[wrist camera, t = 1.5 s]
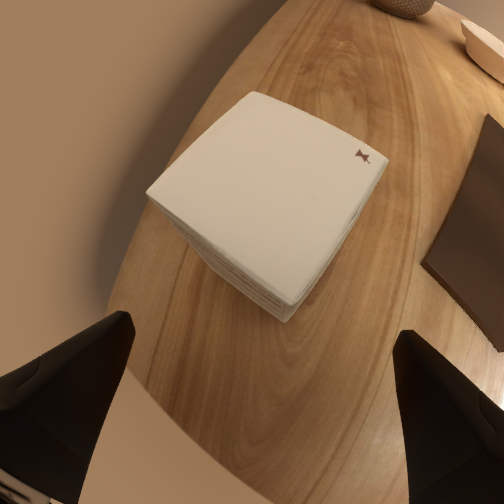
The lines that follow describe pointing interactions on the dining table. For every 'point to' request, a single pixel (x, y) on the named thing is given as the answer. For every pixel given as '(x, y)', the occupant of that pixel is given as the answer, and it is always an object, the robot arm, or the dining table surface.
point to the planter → (405, 7)
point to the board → (476, 238)
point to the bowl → (484, 49)
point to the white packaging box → (269, 198)
